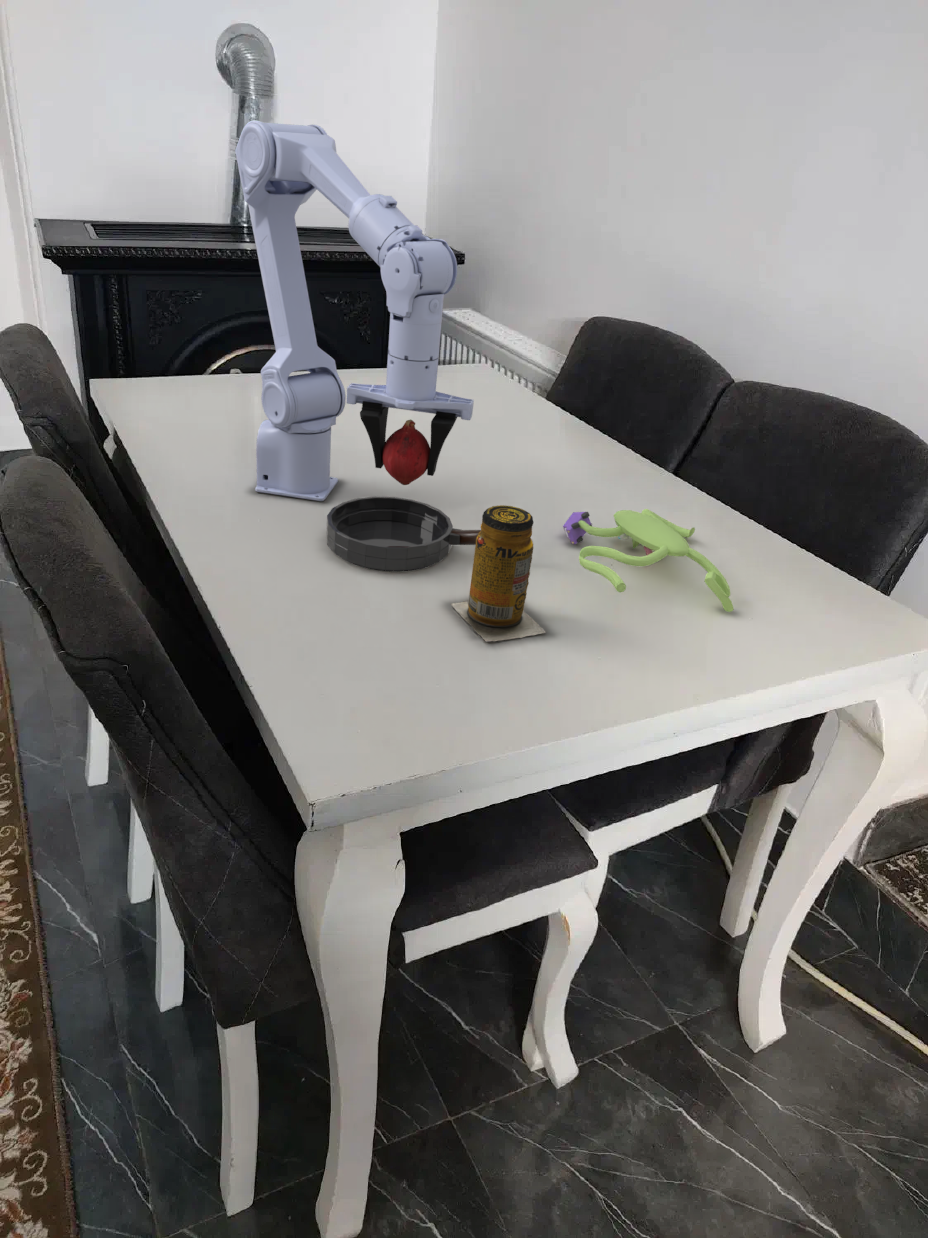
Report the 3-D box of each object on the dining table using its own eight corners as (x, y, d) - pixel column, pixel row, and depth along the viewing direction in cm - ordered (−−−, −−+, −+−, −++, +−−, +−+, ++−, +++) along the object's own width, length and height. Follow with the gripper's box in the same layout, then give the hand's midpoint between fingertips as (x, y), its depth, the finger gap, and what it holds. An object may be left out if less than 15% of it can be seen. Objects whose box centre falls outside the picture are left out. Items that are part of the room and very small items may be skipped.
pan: (311, 562, 107) (312, 536, 105) (344, 513, 120) (345, 489, 118) (438, 582, 105) (441, 555, 104) (457, 530, 118) (460, 506, 117)
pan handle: (443, 546, 110) (445, 522, 109) (446, 539, 112) (448, 515, 111) (523, 558, 110) (526, 534, 108) (524, 551, 111) (528, 527, 110)
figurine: (578, 615, 102) (586, 570, 99) (552, 518, 125) (558, 479, 122) (740, 627, 103) (752, 583, 100) (684, 529, 126) (693, 491, 124)
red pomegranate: (422, 497, 108) (427, 431, 104) (375, 489, 109) (378, 423, 105) (433, 480, 113) (438, 417, 109) (387, 473, 114) (391, 409, 110)
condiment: (508, 597, 104) (521, 498, 98) (546, 634, 98) (563, 530, 92) (450, 605, 101) (460, 504, 95) (485, 644, 95) (498, 538, 89)
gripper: (341, 354, 100) (337, 471, 107) (472, 371, 100) (460, 489, 106) (356, 340, 107) (352, 452, 113) (480, 356, 106) (468, 468, 112)
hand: (405, 469), depth 110 cm, fingers closed on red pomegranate, 5 cm apart
